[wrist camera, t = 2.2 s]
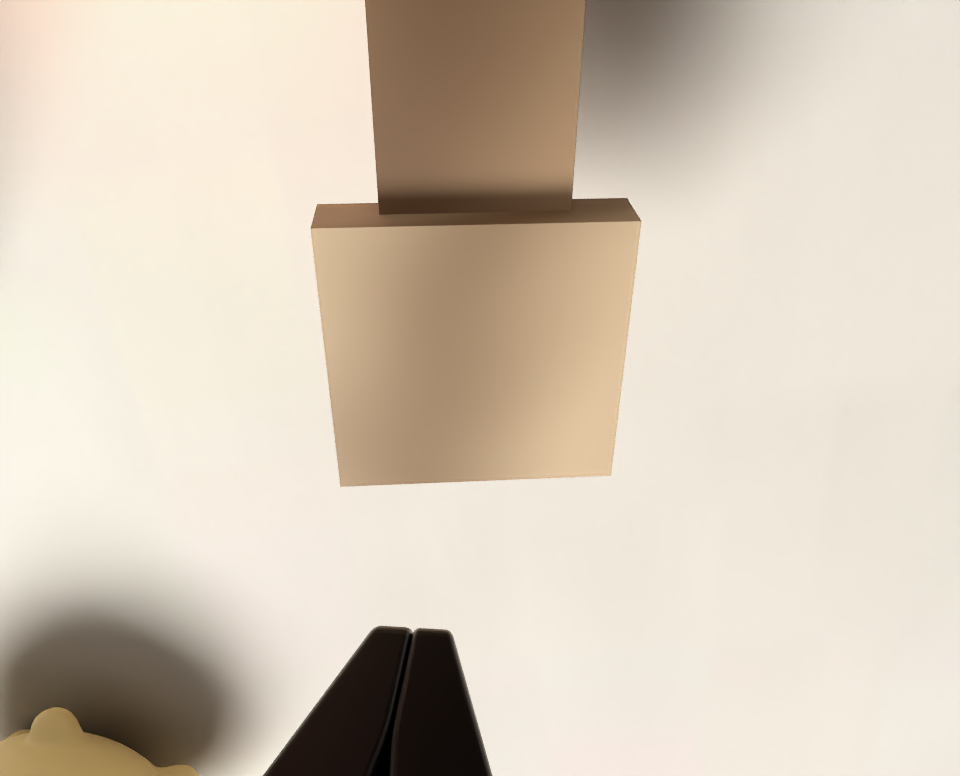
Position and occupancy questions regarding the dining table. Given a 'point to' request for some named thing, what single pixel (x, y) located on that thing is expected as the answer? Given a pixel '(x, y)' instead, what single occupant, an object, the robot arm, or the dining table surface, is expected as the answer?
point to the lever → (475, 257)
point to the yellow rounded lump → (73, 752)
